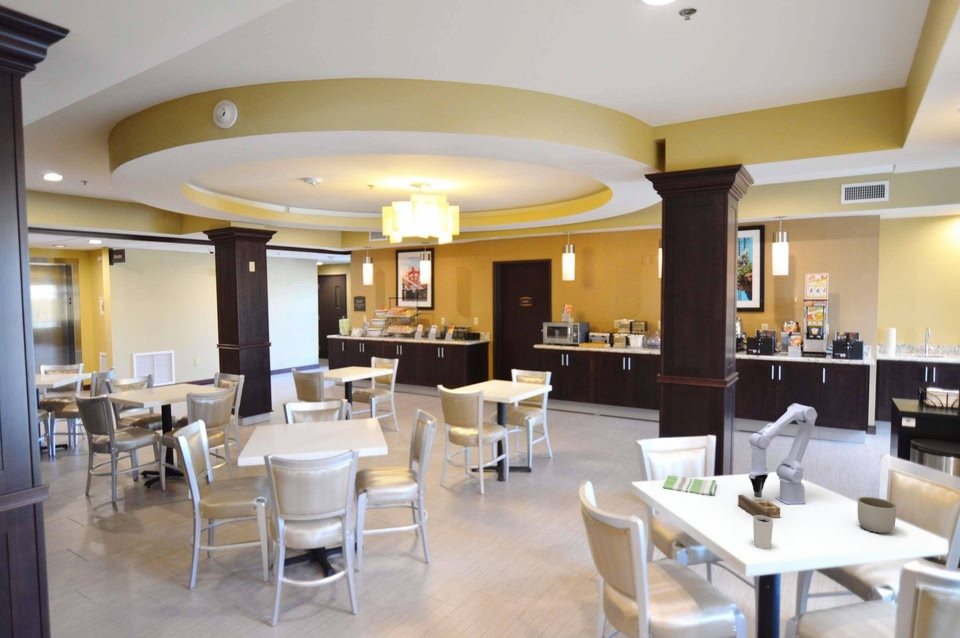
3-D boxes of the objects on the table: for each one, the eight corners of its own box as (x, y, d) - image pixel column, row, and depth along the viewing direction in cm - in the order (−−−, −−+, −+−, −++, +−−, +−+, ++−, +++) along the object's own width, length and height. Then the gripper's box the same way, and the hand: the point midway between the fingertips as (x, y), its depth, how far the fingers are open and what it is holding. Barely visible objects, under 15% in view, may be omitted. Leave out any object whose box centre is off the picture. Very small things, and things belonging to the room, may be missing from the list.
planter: (875, 536, 216) (876, 509, 215) (849, 524, 228) (850, 497, 228) (903, 535, 218) (904, 507, 217) (876, 522, 230) (877, 496, 230)
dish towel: (714, 497, 258) (714, 490, 258) (662, 489, 269) (662, 482, 268) (717, 486, 274) (717, 479, 273) (668, 479, 284) (668, 472, 284)
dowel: (759, 495, 251) (759, 477, 251) (763, 497, 248) (763, 479, 248) (752, 495, 251) (753, 477, 251) (756, 497, 248) (757, 479, 248)
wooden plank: (742, 505, 247) (742, 494, 247) (770, 524, 227) (770, 512, 227) (738, 506, 247) (738, 494, 247) (765, 524, 227) (765, 512, 227)
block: (768, 510, 242) (768, 500, 242) (780, 517, 234) (780, 507, 234) (750, 510, 241) (751, 501, 241) (761, 517, 233) (762, 508, 233)
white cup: (750, 540, 212) (751, 514, 211) (770, 542, 210) (771, 516, 210) (754, 547, 206) (754, 521, 205) (774, 550, 204) (775, 523, 203)
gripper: (761, 466, 241) (761, 497, 242) (774, 459, 251) (773, 489, 251) (744, 462, 246) (744, 493, 247) (758, 456, 256) (757, 485, 257)
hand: (758, 491), depth 249 cm, fingers closed on dowel, 3 cm apart
